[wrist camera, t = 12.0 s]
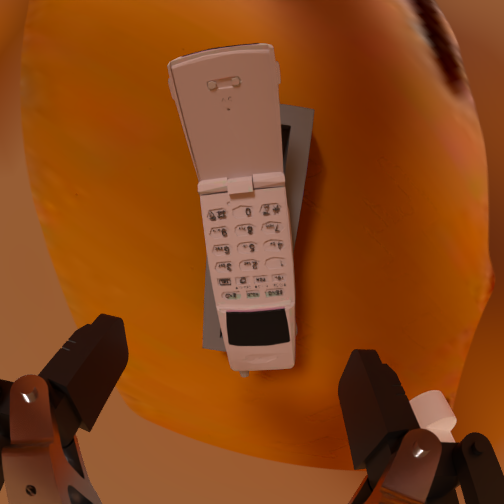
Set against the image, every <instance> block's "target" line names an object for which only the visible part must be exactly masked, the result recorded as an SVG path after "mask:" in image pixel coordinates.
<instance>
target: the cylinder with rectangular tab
mask: <svg viewBox="0 0 504 504" xmlns="http://www.w3.org/2000/svg"><path fill="white" fill-rule="evenodd" d="M409 402H410V405H411V407H412V409H413V412H414V414H415V416H416V419H417V421H418V423H419V426H420V428H422V429H427V430H429V431H431V432H433V433H434V434H435V435H436V436H437V437H438V438H439V440H440V442H454V443H455V441H454V439H453V436H452V435H451V432H450V431H451V430H452V429H453V427H454V426H455V424H456V417H455V415H454V413H453V412H452V410H451V408H450V406H449V404H448V403H447V401H446V399H445V397H444V396H443V394H442V392H440V391H438V390H432V391H428V392H425V393H422V394H420V395H418V396H416V397H415V398H413V399H412V400H410V401H409Z"/></svg>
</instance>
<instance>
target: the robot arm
mask: <svg viewBox="0 0 504 504" xmlns="http://www.w3.org/2000/svg"><path fill="white" fill-rule="evenodd" d="M128 354H129V353H128V346H127V341H126V335H125V329H124V323H123V320H122V319H121V318H119V317H115V316H111V315H107V314H100V315H99V316H98V317H97V318H96V320H95V321H94V322H93V323H92V324H91V325H90V324H87V325H85V326H83V327H81V328H80V329H78V330H76V331H75V332H74V334H73V335H72V336H71V337H70V338H69V341H67V342H66V343H65V344H64V345H63V346H62V348H61V349H60V350H59V351H58V352H57V353H56V354H55V356H54V357H53V358H52V359H51V360H50V361H49V363H48V364H47V365H46V366H45V367H44V369H43V370H42V371H41V372H40V374H39V375H38V376H37V375H24V376H22V377H20V378H18V379H17V380H16V381H15V382H10V381H6V380H1V379H0V490H1V488H2V486H3V483H4V481H5V486H6V492H7V497H8V502H9V504H102V502H101V500H100V498H99V497H98V495H97V493H96V491H95V490H94V488H93V486H92V485H91V483H90V480H89V477H88V474H87V471H86V468H85V465H84V461H83V458H82V455H81V451H80V447H79V444H78V439H77V436H76V432H77V430H78V428H81V429H84V430H86V431H88V432H90V431H91V429H92V427H93V425H94V424H95V422H96V420H97V418H98V416H99V414H100V412H101V410H102V408H103V407H104V405H105V403H106V401H107V399H108V397H109V396H110V394H111V392H112V390H113V388H114V387H115V385H116V383H117V381H118V379H119V378H120V376H121V374H122V372H123V371H124V369H125V367H126V365H127V362H128ZM338 396H339V400H340V404H341V409H342V413H343V418H344V422H345V427H346V431H347V436H348V440H349V445H350V450H351V455H352V460H353V465H354V470H358V469H365V468H366V469H367V474H368V475H367V476H366V477H365V478H364V480H363V481H362V483H361V484H360V486H359V488H358V489H357V491H356V492H355V494H354V495H353V497H352V499H351V500H350V502H349V503H348V504H459V501H458V498H457V494H456V490H455V488H456V487H458V486H459V485H461V488H462V492H463V496H464V499H465V503H466V504H504V475H503V473H502V470H501V467H500V465H499V462H498V460H497V457H496V455H495V452H494V450H493V448H492V445H491V443H490V441H489V440H488V439H487V438H486V437H485V436H484V435H482V434H480V433H476V432H475V433H470V434H468V435H467V436H466V437H465V438H464V439H463V440H462V441H461V442H460V443H454V442H440V440H439V438H438V437H437V436H436V435H435V434H434V433H433V432H431V431H429V430H427V429H422V428H420V426H419V423H418V421H417V419H416V416H415V414H414V412H413V409H412V407H411V405H410V402H409V400H408V398H407V396H406V395H405V391H404V389H403V387H402V386H401V383H400V381H399V379H398V376H397V374H396V373H395V372H394V371H393V370H392V369H391V368H390V367H389V366H388V365H387V364H382V362H381V360H380V358H379V356H378V354H377V352H376V351H375V350H361V349H355V350H353V351H352V353H351V355H350V358H349V360H348V362H347V365H346V367H345V369H344V372H343V374H342V376H341V379H340V381H339V386H338Z"/></svg>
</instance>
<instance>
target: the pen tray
mask: <svg viewBox="0 0 504 504" xmlns="http://www.w3.org/2000/svg"><path fill="white" fill-rule="evenodd" d="M279 106H280V121H281V137H282V155H283V173H284V176H285V188H286V197H287V205H288V208H289V213H290V223H291V234H292V246H293V253H294V247H295V241H296V235H297V229H298V223H299V217H300V211H301V205H302V198H303V192H304V185H305V178H306V171H307V164H308V157H309V149H310V142H311V134H312V126H313V117H314V109H309V108H303V107H297V106H291V105H284V104H279ZM203 348H206V349H212V350H219V351H226V348H225V344H224V340H223V335H222V331H221V327H220V322H219V317H218V313H217V308H216V303H215V298H214V293H213V287H212V282H211V276H210V270H209V264H208V257H207V261H206V279H205V298H204V323H203Z"/></svg>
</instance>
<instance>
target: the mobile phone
mask: <svg viewBox="0 0 504 504" xmlns="http://www.w3.org/2000/svg"><path fill="white" fill-rule="evenodd" d="M167 67H168V72H169V76H170V78H169V79H168V83H169V87H170V91H171V95H172V98H173V99H174V100H175V102H176V106H177V109H178V113H179V116H180V120H181V123H182V127H183V130H184V133H185V137H186V140H187V143H188V147H189V150H190V154H191V157H192V160H193V163H194V167H195V170H196V173H197V176H198V180H199V184H198V193H199V195H201V196H200V200H201V209H202V217H203V226H204V234H205V242H206V249H207V257H208V264H209V270H210V276H211V282H212V287H213V293H214V298H215V303H216V308H217V313H218V317H219V322H220V327H221V331H222V335H223V340H224V344H225V348H226V352H227V355H228V359H229V363H230V367H231V369H232V370H235V371H240V374H241V376H242V377H247V376H249V371H254V370H275V369H290V368H292V367H293V366H294V364H295V336H296V335H297V325H296V321H295V301H296V291H295V274H294V260H293V246H292V234H291V223H290V213H289V208H288V205H287V197H286V188H285V176H284V173H283V155H282V137H281V121H280V106H279V93H278V84H280V82H281V79H280V69H279V63H278V61H276V63H275V55H274V48H273V46H272V45H270V44H264V43H254V44H243V45H234V46H226V47H218V48H212V49H207V50H203V51H199V52H195V53H192V54H188V55H185V56H182V57H178V58H176V59H175V60H173V61H171V62H169V64H168V65H167ZM276 70H277V71H276ZM277 79H278V80H277ZM195 162H196V164H195ZM196 166H197V168H196ZM197 169H198V171H197ZM198 173H199V175H198ZM199 176H200V179H199Z"/></svg>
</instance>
